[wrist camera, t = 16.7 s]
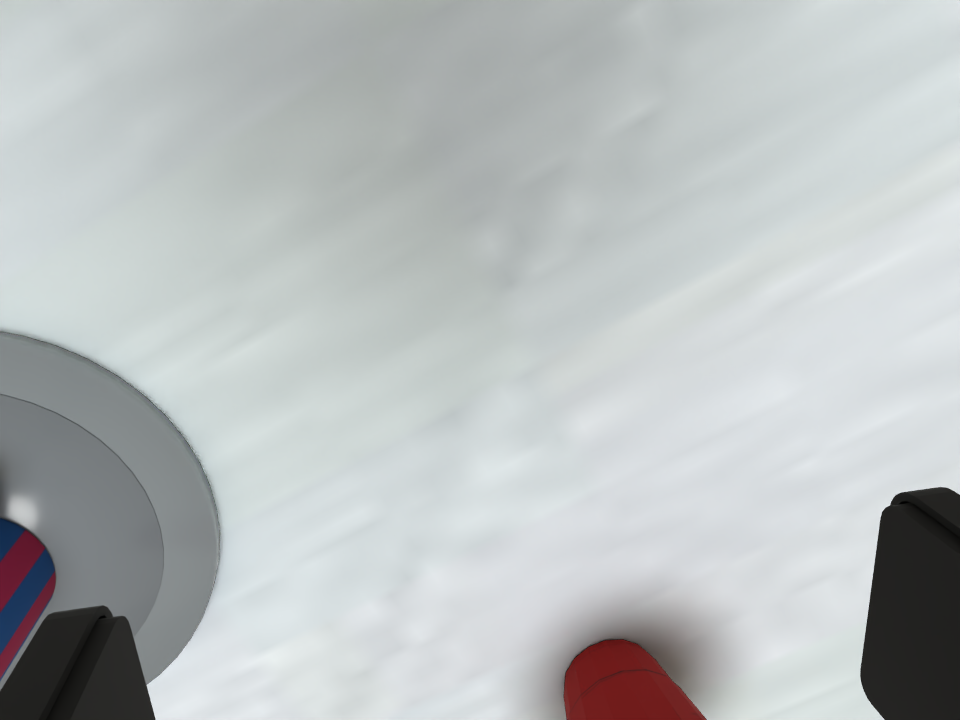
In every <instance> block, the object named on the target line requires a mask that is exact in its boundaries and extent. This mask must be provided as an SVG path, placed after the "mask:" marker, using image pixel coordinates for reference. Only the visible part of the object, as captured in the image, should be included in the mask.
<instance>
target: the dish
mask: <svg viewBox="0 0 960 720" xmlns="http://www.w3.org/2000/svg"><path fill="white" fill-rule="evenodd" d="M0 518H1V519H5V520H7V521H10V522H12V523H15V524H17V525H19V526H20V527H22V528H24V529H25V530H27V531H28V532H30V533H31V534H32V535H33V536H34V537H36V538H37V539H38V540H39V541H40V543H41V544H42V545H43V546H44V547H45V548H46V550H47V552H48V553H49V555H50V557H51V559H52V562H53V565H54V567H55V574H56V583H55V590H54V593H53V596H52V598H51V600H50V602H49V603H48V605H47V607H46V608H45V610H44V612H43V613H42V615H41V616H40V618H39V620H38V621H37V623H36V625H35V626H34V628H33V629H32V631H31V633H30V634H29V636H28V637H27V639H26V641H25V642H24V644H23V646H22V647H21V649H20V650H19V652H18V654H17V655H16V657H15V658H14V660H13V662H12V663H11V665H10V667H9V668H8V670H7V671H6V673H5V675H4V676H3V678H2V680H1V681H0V691H1V689H2V687H3V686H4V684H5V682H6V681H7V679H8V678H9V676H10V674H11V673H12V671H13V669H14V668H15V666H16V664H17V663H18V661H19V659H20V658H21V656H22V655H23V653H24V651H25V650H26V648H27V646H28V645H29V643H30V641H31V640H32V638H33V636H34V635H35V633H36V632H37V630H38V628H39V627H40V625H41V623H42V622H43V620H44V619H45V618H46V617H47V615H48V614H51V613H53V612H58V611H66V610H73V609H80V608H87V607H94V606H101V605H104V606H106V607H108V608H109V610H110V611H111V612H112V615H113V617H116V616H125V617H126V618H127V620H128V621H129V624H130V627H131V630H132V634H133V638H134V641H135V645H136V649H137V653H138V656H139V660H140V664H141V668H142V671H143V675H144V679H145V682H146V685H147V684H148V683H150V682H151V681H152V680H154V679H155V678H156V677H157V676H159V675H160V674H161V673H162V672H163V671H164V670H165V669H166V668H167V667H168V666H169V665H170V664H171V663H172V662H173V661H174V660H175V659H176V658H177V657H178V655H179V654H180V653H181V651H182V650H183V649H184V647H185V646H186V645H187V643H188V642H189V641H190V639H191V638H192V636H193V634H194V632H195V631H196V629H197V627H198V625H199V623H200V621H201V619H202V618H203V615H204V612H205V609H206V607H207V604H208V601H209V598H210V595H211V592H212V589H213V586H214V582H215V578H216V573H217V567H218V562H219V550H220V531H219V523H218V515H217V509H216V505H215V502H214V498H213V495H212V492H211V488H210V485H209V483H208V480H207V478H206V476H205V474H204V472H203V469H202V467H201V465H200V463H199V461H198V459H197V458H196V456H195V455H194V453H193V451H192V450H191V448H190V447H189V445H188V443H187V442H186V440H185V439H184V437H183V436H182V435H181V434H180V433H179V431H178V430H177V429H176V428H175V427H174V425H173V424H172V423H171V422H170V421H169V419H168V418H167V417H166V416H165V415H164V414H163V413H162V412H161V411H160V410H159V409H158V408H157V407H156V406H155V405H153V404H152V403H151V402H150V401H149V400H148V399H147V398H146V397H145V396H144V395H143V394H141V393H140V392H139V391H137V390H136V389H134V388H133V387H132V386H130V385H129V384H128V383H126V382H125V381H123V380H122V379H121V378H119V377H118V376H116V375H115V374H113V373H111V372H109V371H108V370H106V369H104V368H102V367H101V366H99V365H97V364H95V363H94V362H92V361H90V360H88V359H86V358H84V357H81V356H79V355H77V354H74V353H72V352H70V351H67V350H65V349H63V348H60V347H58V346H55V345H51V344H48V343H45V342H42V341H38V340H35V339H32V338H28V337H25V336H20V335H15V334H10V333H4V332H0Z"/></svg>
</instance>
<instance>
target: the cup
mask: <svg viewBox="0 0 960 720" xmlns="http://www.w3.org/2000/svg"><path fill="white" fill-rule="evenodd" d="M55 583H56V574H55V567H54V565H53V562H52V559H51V557H50V555H49V553H48V552H47V550H46V548H45V547H44V546H43V545H42V544H41V543H40V541H39V540H38V539H37V538H36V537H34V536H33V535H32V534H31V533H30V532H28V531H27V530H25V529H24V528H22V527H20V526H19V525H17V524H15V523H12V522H10V521H7V520H5V519H1V518H0V681H1V680H2V678H3V676H4V675H5V673H6V671H7V670H8V668H9V667H10V665H11V663H12V662H13V660H14V658H15V657H16V655H17V654H18V652H19V650H20V649H21V647H22V646H23V644H24V642H25V641H26V639H27V637H28V636H29V634H30V633H31V631H32V629H33V628H34V626H35V625H36V623H37V621H38V620H39V618H40V616H41V615H42V613H43V612H44V610H45V608H46V607H47V605H48V603H49V602H50V600H51V598H52V596H53V593H54V590H55Z"/></svg>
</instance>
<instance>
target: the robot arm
mask: <svg viewBox="0 0 960 720" xmlns="http://www.w3.org/2000/svg"><path fill="white" fill-rule="evenodd" d="M860 677H861V682H862V686H863V689H864V692H865V694H866V696H867V698H868V700H869V701H870V702H871V704H872V705H873V706H874V708H875V709H876V710H877V711H878V712H879V713H880V715H881V716H882V717H883V718H884V719H885V720H960V495H959V494H957V493H956V492H954V491H952V490H950V489H948V488H943V487H938V488H931V489H924V490H916V491H909V492H902V493H900V494H898V495H896V496H895V497H894V498H893V500H892V501H891V505H890V506H888V507H886V508H885V509H884V511H883V512H882V515H881V520H880V527H879V535H878V542H877V550H876V558H875V565H874V573H873V580H872V588H871V595H870V603H869V610H868V618H867V625H866V633H865V641H864V648H863V656H862V663H861V675H860ZM0 720H155V716H154V712H153V708H152V705H151V701H150V697H149V694H148V690H147V686H146V682H145V679H144V675H143V671H142V668H141V664H140V660H139V656H138V653H137V649H136V645H135V641H134V638H133V634H132V630H131V627H130V624H129V621H128V620H127V618H126V617H125V616H116V617H113V615H112V612H111V611H110V610H109V608H108V607H106V606H104V605H101V606H94V607H87V608H80V609H73V610H66V611H58V612H53V613H51V614H48V615H47V617H46V618H45V619H44V620H43V622H42V623H41V625H40V627H39V628H38V630H37V632H36V633H35V635H34V636H33V638H32V640H31V641H30V643H29V645H28V646H27V648H26V650H25V651H24V653H23V655H22V656H21V658H20V659H19V661H18V663H17V664H16V666H15V668H14V669H13V671H12V673H11V674H10V676H9V678H8V679H7V681H6V682H5V684H4V686H3V687H2V689H1V691H0Z"/></svg>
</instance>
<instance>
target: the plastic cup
mask: <svg viewBox="0 0 960 720" xmlns="http://www.w3.org/2000/svg"><path fill="white" fill-rule="evenodd" d="M564 702H565V710H566V717H567V720H707V719H706V718H705V717H704V716H703V715H702V713H701V712H700V711H699V710H698V709H697V707H696V706H695V705H694V704H693V703H692V701H691V700H690V699H689V698H688V697H687V696H686V694H685V693H684V692H683V691H682V690H681V688H680V687H679V686H677V685H676V684H675V683H674V682H673V681H672V680H671V679H670V677H669V676H668V675H667V674H666V672H665V671H664V670H663V669H662V667H661V666H660V665H659V664H658V662H657V661H656V660H655V659H654V658H653V657H652V656H651V655H650V654H649V653H648V652H646V651H645V650H644V649H643V648H642V647H641V646H639V645H638V644H636V643H633V642H629V641H626V640H623V639H621V640H605V641H602V642H600V643H597V644H595V645H592V646H590V647H588V648H586V649H585V650H584V651H583V652H582V653H580V654H579V655H578V656H577V657H576V658H574V660H573V662H572V663H571V665H570V667H569V668H568V670H567V672H566V676H565V686H564Z"/></svg>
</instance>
